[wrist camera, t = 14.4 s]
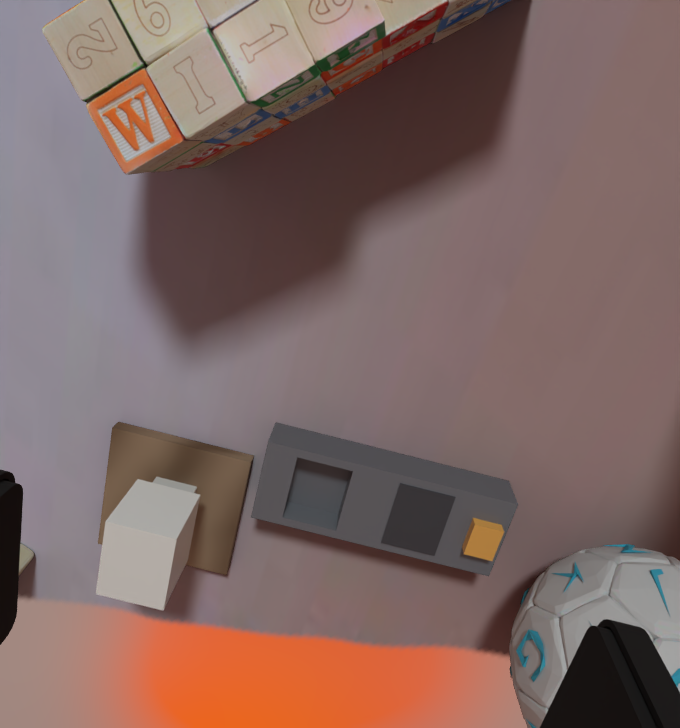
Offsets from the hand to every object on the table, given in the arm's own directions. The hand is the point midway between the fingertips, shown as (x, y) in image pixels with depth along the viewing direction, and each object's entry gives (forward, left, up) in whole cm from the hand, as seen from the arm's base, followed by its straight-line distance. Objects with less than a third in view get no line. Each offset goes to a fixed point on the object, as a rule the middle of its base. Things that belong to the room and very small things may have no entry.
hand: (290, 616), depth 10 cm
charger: (+9, +20, -29) cm, 36 cm away
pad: (+9, +20, -30) cm, 37 cm away
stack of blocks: (+5, -13, -30) cm, 33 cm away
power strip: (-5, +15, -30) cm, 34 cm away
